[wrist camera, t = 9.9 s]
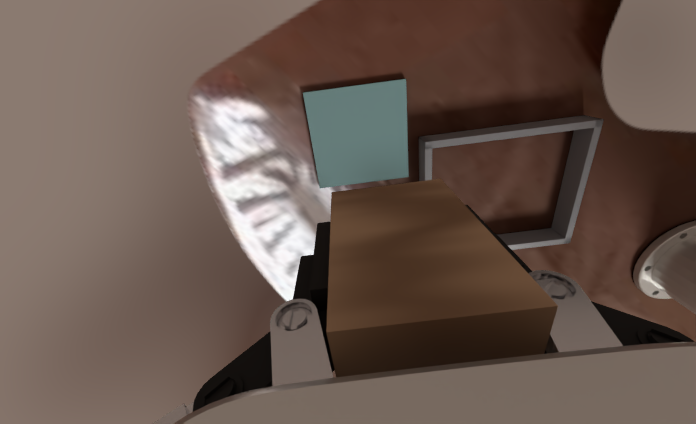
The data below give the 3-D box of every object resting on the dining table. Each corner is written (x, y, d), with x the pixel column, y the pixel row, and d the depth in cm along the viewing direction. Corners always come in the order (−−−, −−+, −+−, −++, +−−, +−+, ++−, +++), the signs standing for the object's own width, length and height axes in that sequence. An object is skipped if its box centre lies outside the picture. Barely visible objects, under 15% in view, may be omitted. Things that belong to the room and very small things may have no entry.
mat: (404, 78, 28) (406, 78, 27) (407, 175, 32) (408, 176, 32) (303, 92, 28) (302, 92, 28) (320, 186, 33) (319, 188, 32)
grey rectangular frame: (584, 115, 30) (603, 119, 28) (555, 232, 37) (569, 242, 34) (418, 136, 31) (425, 142, 28) (419, 248, 37) (424, 260, 35)
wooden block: (440, 178, 12) (557, 306, 6) (438, 266, 14) (521, 431, 8) (331, 192, 12) (326, 332, 6) (345, 277, 14) (352, 448, 8)
